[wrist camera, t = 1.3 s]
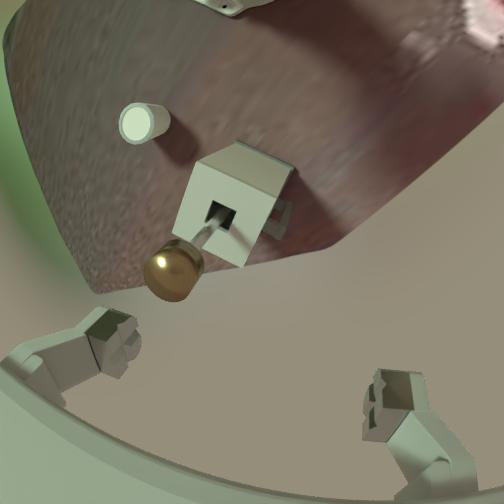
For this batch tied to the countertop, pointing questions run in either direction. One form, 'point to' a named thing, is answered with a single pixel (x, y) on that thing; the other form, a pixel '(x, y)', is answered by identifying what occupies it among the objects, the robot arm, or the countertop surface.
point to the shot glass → (143, 122)
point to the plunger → (183, 259)
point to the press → (236, 199)
